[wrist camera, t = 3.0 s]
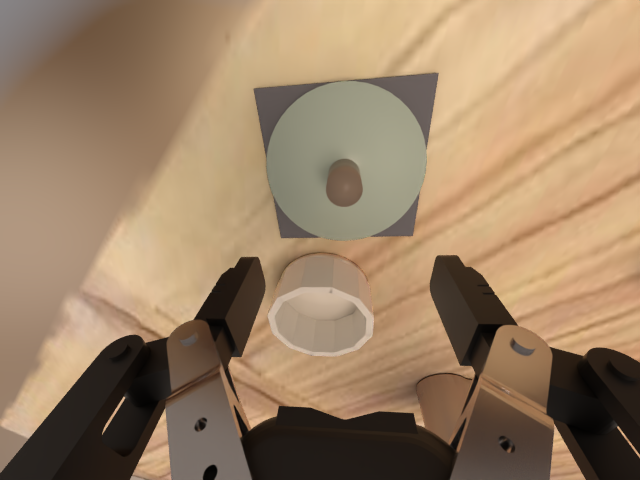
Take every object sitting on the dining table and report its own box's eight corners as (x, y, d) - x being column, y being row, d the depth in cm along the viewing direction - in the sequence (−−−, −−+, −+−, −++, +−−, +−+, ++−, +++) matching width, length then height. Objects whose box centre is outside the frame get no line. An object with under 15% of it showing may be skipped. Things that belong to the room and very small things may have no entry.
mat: (436, 73, 19) (438, 73, 19) (411, 234, 27) (412, 235, 27) (255, 88, 21) (253, 88, 21) (281, 236, 29) (281, 238, 29)
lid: (438, 73, 19) (464, 70, 15) (412, 235, 27) (424, 262, 23) (253, 88, 21) (232, 90, 17) (281, 237, 29) (271, 263, 25)
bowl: (370, 252, 29) (376, 287, 24) (367, 318, 36) (371, 357, 31) (273, 253, 30) (259, 287, 25) (286, 317, 37) (278, 354, 32)
